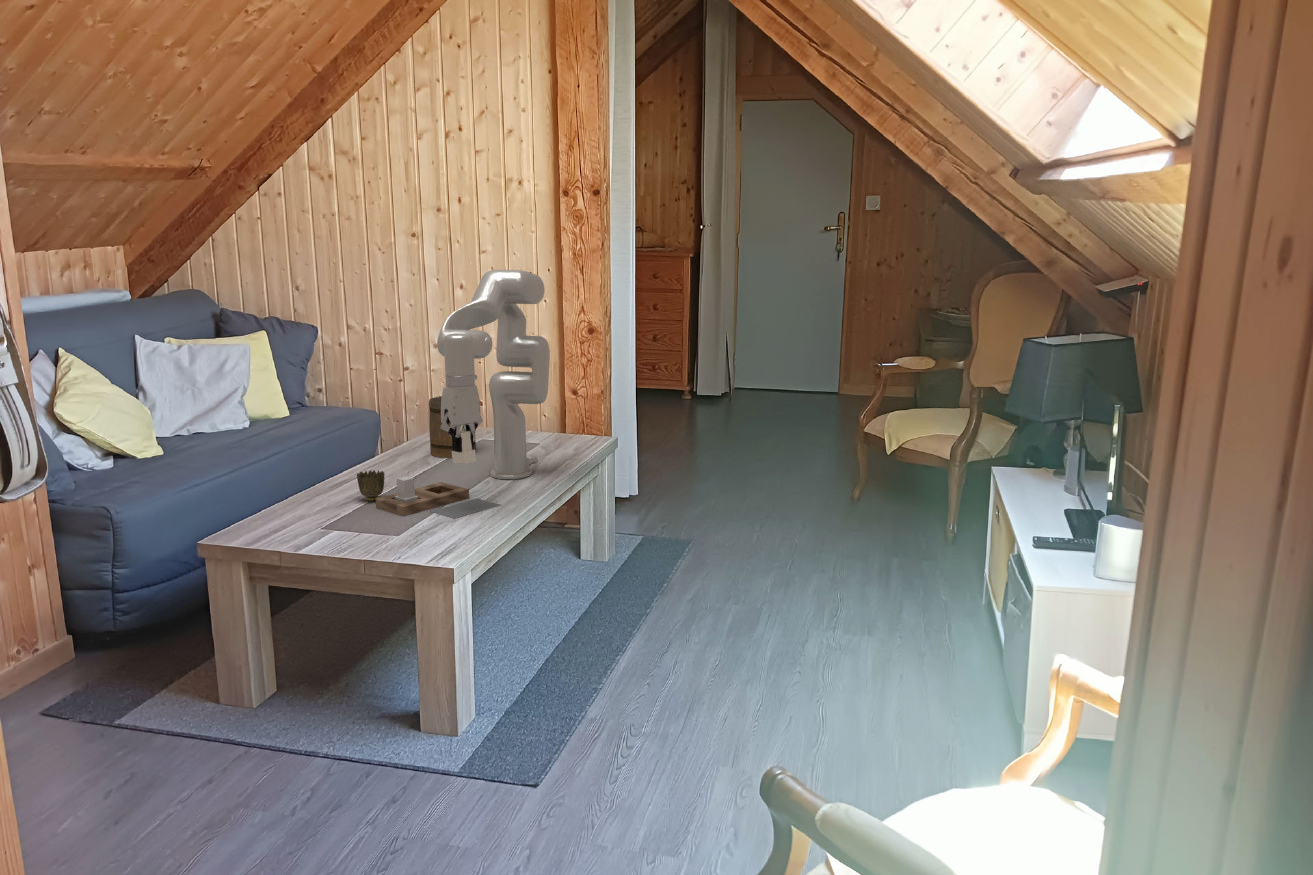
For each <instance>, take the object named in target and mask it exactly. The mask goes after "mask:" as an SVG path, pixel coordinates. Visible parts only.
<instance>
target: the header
mask: <svg viewBox="0 0 1313 875" xmlns="http://www.w3.org/2000/svg"><path fill="white" fill-rule="evenodd" d="M414 490H415V496H418V499H417V500H413V501H410V502H406V503H404V502H401V501H398V500H395V496H398V494H397V492H396V493H393V494H389V495H385V496H382V497H380V496H379V498H376V501H375V508H376V509H379V510H382V511H385V512H389V513H392V514H395V515H398V516H401V517H405V516H410V515H414V514H417V513H420V512H425V511H427V510H432V509H434V508H436V509H437V508H438V507H441V506H443V507H444V506H446V505H451V504H453V503H458V502H460V501H466V500H467V499H470V489H469V488H466V487H461V486H457V485H454V484H450V483H446V482H442V481H441V482H436V483H432V484H429V485H424V486H421V487H417V488H414Z"/></svg>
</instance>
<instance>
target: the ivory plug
mask: <svg viewBox="0 0 1313 875" xmlns="http://www.w3.org/2000/svg"><path fill="white" fill-rule="evenodd" d="M470 436H471V435H470V431H460V437H462V452H456V451H452V463H453V464H463V465H464V464H470V463H473V462H477V456H476V452H475V450H472V444H471V438H470Z"/></svg>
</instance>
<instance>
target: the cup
mask: <svg viewBox="0 0 1313 875" xmlns="http://www.w3.org/2000/svg"><path fill="white" fill-rule="evenodd" d="M385 477H386V476H385V472H384V471H383V470H381V471H380V470H379V469H378V471H375V469H374V470H369V471H368V472H367V470H365V471H364V472H362V471H359V472H357V473H356V479H357V485H358V490H359V492H360V494H361V495H362V496H364V497H365V501H366V502H376V498H380V495H381V494H383V492H384V487H385Z"/></svg>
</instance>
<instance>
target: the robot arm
mask: <svg viewBox="0 0 1313 875" xmlns="http://www.w3.org/2000/svg"><path fill="white" fill-rule="evenodd" d="M545 292H546V291H545V284H544V281H543V279H542V277H540V276H539V275H537V274H535V273H532V272H529V271H526V270H523V269H522V270H520V269H492V270H487V271H486V272H485V273H484V274H483V275H482V276H481V279H480V281H479V283H478V285H477V288H476V290H475V292H474V294H473V297H472V298H471V301H470V302H467V304H464V305H463V306H461V307H459V308H458V309H456V310H455V311H453V312H452V313H451V314H449V315H448V316H447V318H445V320H444V322H443V323H442V326H441V328H440V330H439V333H438V336H437V342H436V346H437V351H438V352H439V353H440V354H439V355H441V356H442V357H443V358H444V374H445V386H444V387H443V388H442V392H441V396H442V399H441V422H442V425H441V429H442V430H445V431H447V432H448V433H449V434H450V436H452V447H453V451H456V452H462V437H460V425H464V427H465V431H470V435H471V436H470V438H471V444H472V450H473V449H474V446H473V444H474V443H473V435H474V434H475V435H476V431H477V429H478V427H479V426H480V425H481V424H482V423H483V422H484V420H483V418H482V415H481V401H480V395H479V394H480V393H479V390H478V386H477V385H476V380H478V376H477V374H476V373H475V372H476V371H475V359H483V358H486V357H488V355H490V353H491V352H492V348H493V339H492V337H491V335H490V334H489V332H487V331H485V330H479V329H477V328H480V327H483V326H487V325H488V324H491V323H494V322H495V321H497V333H496V361H497V363H498V365H500V366H503V367H506V368H507V367H509V368H529V369H531V371H519V370H518V371H516V370H515V371H514V370H511V371H510V370H509V371H507V370H505V371H504V370H503V371H498V372H496V373H493V375H491V376H490V379H489V381H488V382H489V383H488V390H489V391H488V392H489V396H490V399H491V400H490V401H491V405H492V414H493V416H492V417H493V440H494V441H493V443H494V468H492V469H491V470H490V474H489V475H490V476H491V477H492V478H495V479H500V480H517V479H524V478H528V477H530V476H531V475H532V474H533V470H532V468H531V467H530V466H531V465H537V464H538V463H539V459H538V457H536V456H535V457H531V458H529V457H527V432H526V431H527V430H526V429H527V428H526V425H527V421H526V416H525V412H524V411H523V409H522V408H521V406H519V405H520V404H522V405H541V404H543V403H545V401H546V400H547V397H548V393H549V380H550V379H549V378H550V359H551V356H550V355H551V354H550V352H551V350H550V344H549V342H548V341H547V339H546V338H545V337H544V336H540V335H527V317H526V315H525V314H524V312H523V311H522V309H521V307H519V306H518V305H519V304H520V305H537V304H540V302H542V300H543V299H544V295H545ZM449 424H450V427H449ZM469 425H470V426H469Z"/></svg>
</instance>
